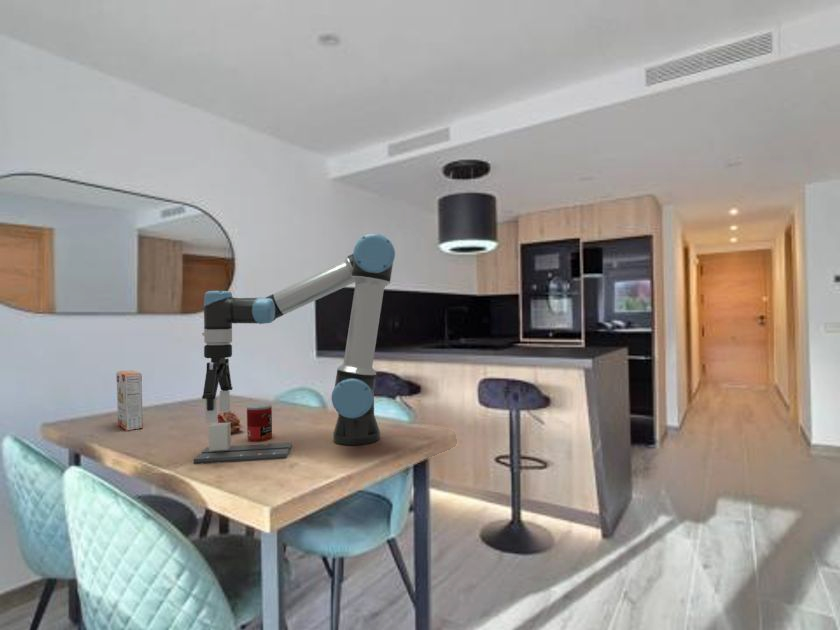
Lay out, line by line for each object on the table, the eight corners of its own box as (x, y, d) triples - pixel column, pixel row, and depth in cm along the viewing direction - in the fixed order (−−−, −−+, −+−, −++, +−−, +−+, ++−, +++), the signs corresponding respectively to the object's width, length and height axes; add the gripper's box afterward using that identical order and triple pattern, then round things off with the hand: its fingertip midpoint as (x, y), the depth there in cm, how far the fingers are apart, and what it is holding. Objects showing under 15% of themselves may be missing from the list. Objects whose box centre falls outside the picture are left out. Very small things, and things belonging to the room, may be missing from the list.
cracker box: (116, 425, 182) (115, 371, 182) (134, 423, 186) (133, 370, 186) (124, 431, 172) (123, 374, 172) (143, 428, 176) (142, 372, 176)
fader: (231, 451, 140) (230, 422, 140) (227, 454, 136) (226, 425, 136) (213, 452, 139) (212, 423, 139) (209, 456, 135) (208, 426, 135)
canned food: (264, 442, 153) (264, 408, 153) (242, 441, 155) (241, 407, 155) (276, 436, 160) (276, 403, 160) (255, 435, 162) (254, 403, 162)
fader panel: (291, 447, 146) (291, 442, 146) (286, 458, 134) (286, 453, 134) (206, 451, 143) (206, 447, 143) (193, 464, 131) (193, 458, 131)
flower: (207, 432, 161) (220, 413, 161) (212, 421, 170) (224, 403, 170) (232, 445, 164) (245, 426, 164) (236, 433, 173) (248, 416, 173)
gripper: (216, 341, 150) (217, 408, 149) (189, 346, 125) (190, 427, 125) (241, 341, 151) (241, 408, 151) (219, 346, 126) (219, 426, 126)
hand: (218, 416), depth 138 cm, fingers open, 13 cm apart
